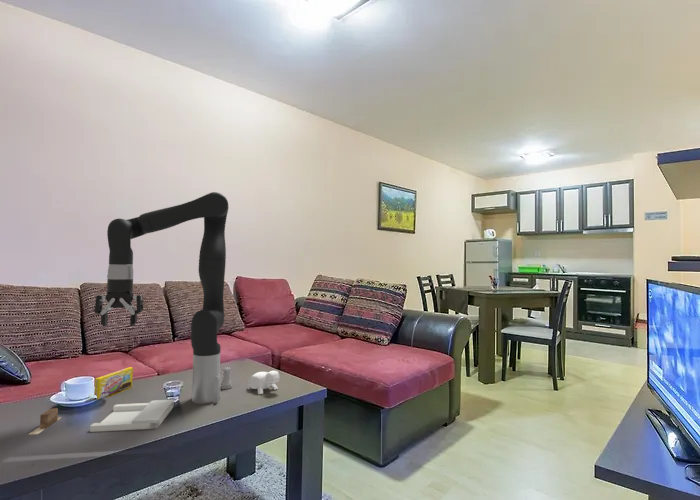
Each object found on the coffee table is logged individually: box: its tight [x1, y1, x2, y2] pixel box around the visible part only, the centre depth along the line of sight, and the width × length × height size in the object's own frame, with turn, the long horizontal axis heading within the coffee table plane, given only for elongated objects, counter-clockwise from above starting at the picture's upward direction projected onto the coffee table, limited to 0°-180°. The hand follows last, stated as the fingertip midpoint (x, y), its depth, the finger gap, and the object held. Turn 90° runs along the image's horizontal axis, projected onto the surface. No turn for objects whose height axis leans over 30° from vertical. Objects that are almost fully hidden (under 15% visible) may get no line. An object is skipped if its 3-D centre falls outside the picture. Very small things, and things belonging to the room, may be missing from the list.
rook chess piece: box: [220, 366, 233, 390], centre depth 153 cm, size 4×4×8 cm
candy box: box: [93, 366, 134, 400], centre depth 143 cm, size 16×2×8 cm, turn 168°
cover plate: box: [27, 407, 63, 436], centre depth 116 cm, size 14×12×5 cm
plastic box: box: [89, 399, 175, 433], centre depth 119 cm, size 18×17×3 cm
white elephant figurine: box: [246, 370, 281, 395], centre depth 150 cm, size 9×8×15 cm
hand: (118, 325), depth 129 cm, fingers open, 8 cm apart
